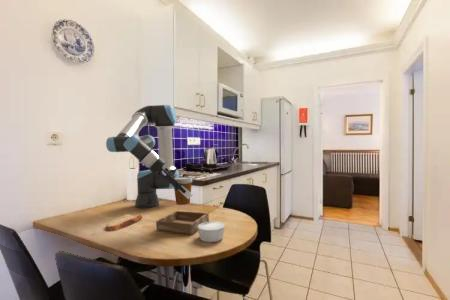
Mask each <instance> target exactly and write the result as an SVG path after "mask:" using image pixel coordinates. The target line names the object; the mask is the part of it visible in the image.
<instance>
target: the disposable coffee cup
mask: <svg viewBox="0 0 450 300" xmlns="http://www.w3.org/2000/svg"><path fill="white" fill-rule="evenodd" d="M175 179H176V180H177V181H178V182H179V183H180V184H181V185H182V186H184V187H185V188H186V189H187V190H188V191H189V192H190V193H191V194H192V184H193V178H192V177H191V176H179V177H177V178H175ZM173 191H174V197H175V204H176V205H178V206H186V205H189V204H191V197H190V198H189V199H187V198H186V197H185V196H184V195H183V194H182V193H181V192H180V191H179V190H177V191H176V189H175V187H174V190H173Z"/></svg>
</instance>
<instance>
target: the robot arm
mask: <svg viewBox="0 0 450 300" xmlns="http://www.w3.org/2000/svg"><path fill="white" fill-rule="evenodd" d="M177 119H178V118H177V113H176V110H175V107H173V105H170V104H160V105H158V104H157V105H146V106H143V107H142V108H140V109H138V110H136V111H135V112H134V113H133V114H132V116H131V119H130V120H129V121H128V123H126V125H124V127H123V128H122V129H121V130H120V132H119V133H118V134H117V135H116V136H109V137H107V139H106V141H105V144H106V145H105V146H106V149H107V151H108V152H110V153H122V152H123V153H127V152H128V153H130V154H131V155H132V156H134V157H135V158H136V159H137V160H138V161H139V162H140V163H141V165H142V166H145V167H146V168H148V169H146V170H145V169H144V170H140V171H138V172H137V177H136V183H137V185H136V186H137V194H136V199H135V203H134V206H135V208H137V209H148V208H149V209H150V208H154V207H157V206H160V199H159V197H158V194H157V190H172V189H174V187H175V189H176V191H177V190H179V191H180V192H181V193H182V194H183V195H184V196H185V197H186V198H187V199H189V198H190V199H191V197H192V196H193V194H192V192H191V193H190V192H189V191H188V190H187V189H186V188H185V187H184V186H182V185H181V184H180V183H179V182H178V181H177V180H176V179H175V178H177V177H180V171H179V170H177V167H176V166H175V164H174V148H173V147H174V146H173V144H174V143H173V131H172V130H173V128H174V127H175V124H176V123H177ZM147 125H154V127H155V128H156V129H157V132H158V150H159V151H158V153H159V154H157V152H155V151H154V149H153V148H154V147H155V146H156V138H154V137H153V136H152V135H150V134H144V135H141V136H140V135H138V134H139V133H140V131H141V130H142V128H144V127H145V126H147Z"/></svg>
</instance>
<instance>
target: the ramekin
mask: <svg viewBox="0 0 450 300" xmlns="http://www.w3.org/2000/svg"><path fill="white" fill-rule="evenodd" d="M225 228H226V227H225V223H223V222H220V221H209V222H205V223H201V224H199V225H198V231H197V232H198V236H199V239H200V240H201V241H202V242H205V243H216V242H219V241H221V240H222V239H223V238H224V233H225Z"/></svg>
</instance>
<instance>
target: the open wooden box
mask: <svg viewBox="0 0 450 300" xmlns="http://www.w3.org/2000/svg"><path fill="white" fill-rule="evenodd" d="M209 213H210V212H200V211H199V212H197V211H183V210H182V211H181V210H175V211H174V212H171V213H170V214H168V215H165V216H164V217H162V218H159V219H158V220H156V221H155V222H156V223H155V227H156V228H155V229H156V230H155V231H156V232H159V233H160V232H161V233H170V234H181V235H187V236H188V235H191V236H193V235H195V234H196V233H197V232H199V231H198V225H199V224H201V223H205V222H210V215H209Z"/></svg>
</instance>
